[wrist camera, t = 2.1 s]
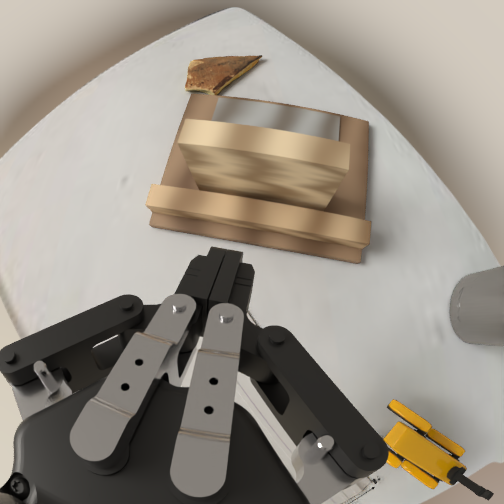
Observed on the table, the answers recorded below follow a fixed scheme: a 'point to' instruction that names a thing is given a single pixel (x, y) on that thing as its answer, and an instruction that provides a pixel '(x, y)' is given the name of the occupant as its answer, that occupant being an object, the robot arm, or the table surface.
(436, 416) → the table surface
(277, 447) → the baseboard molding
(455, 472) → the robot dog
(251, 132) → the oak plank
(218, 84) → the shard
